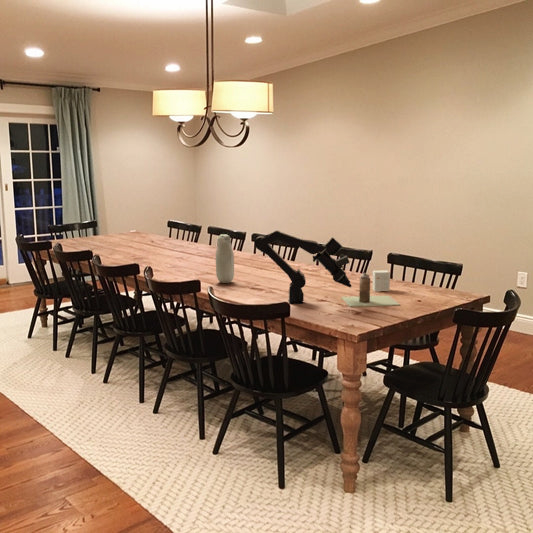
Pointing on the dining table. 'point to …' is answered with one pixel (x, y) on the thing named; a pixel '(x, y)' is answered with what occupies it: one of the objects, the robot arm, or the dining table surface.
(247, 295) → the dining table surface
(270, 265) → the dining table surface
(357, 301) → the placemat
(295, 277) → the robot arm
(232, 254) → the white tall cylinder
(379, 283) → the small box
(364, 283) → the pepper mill
